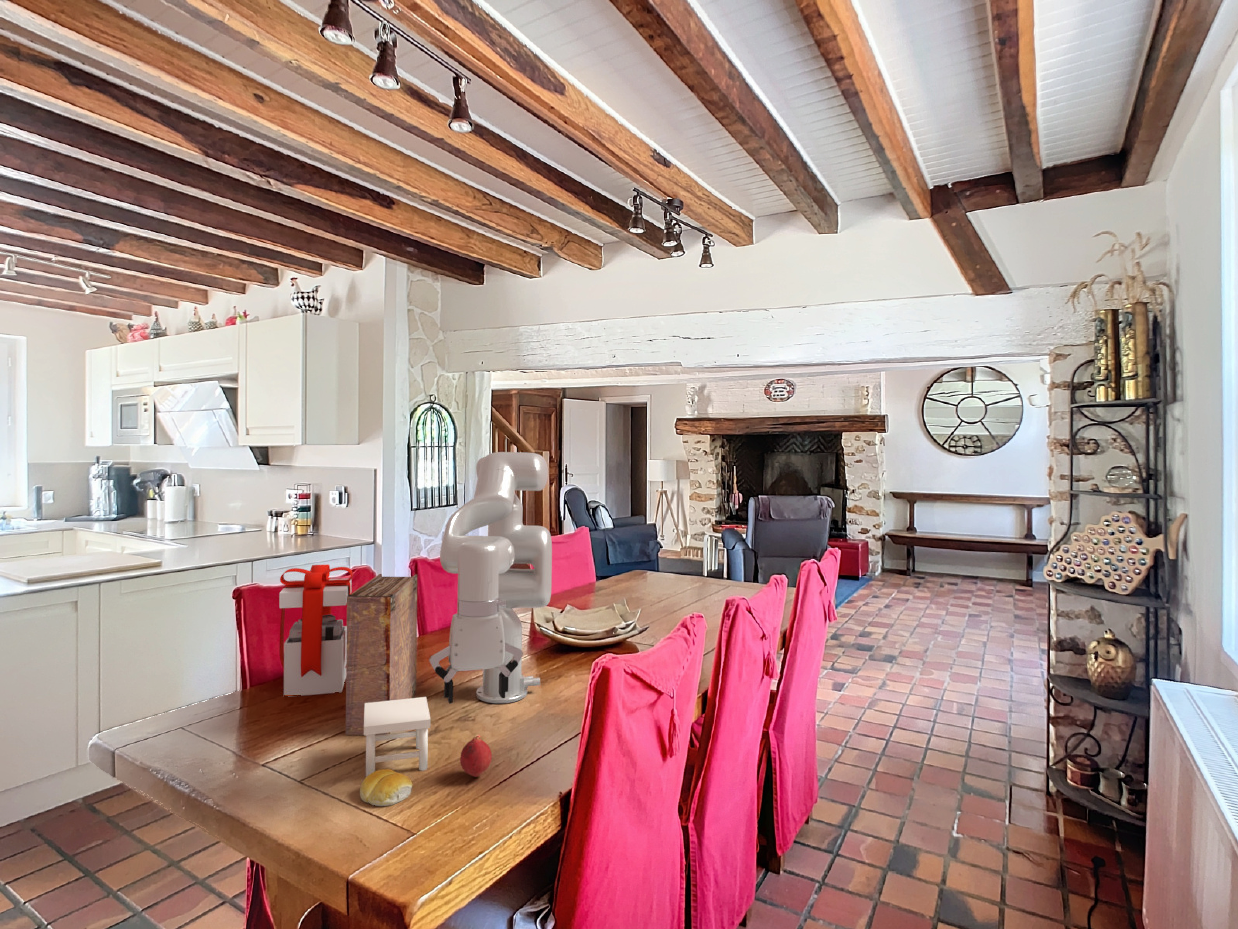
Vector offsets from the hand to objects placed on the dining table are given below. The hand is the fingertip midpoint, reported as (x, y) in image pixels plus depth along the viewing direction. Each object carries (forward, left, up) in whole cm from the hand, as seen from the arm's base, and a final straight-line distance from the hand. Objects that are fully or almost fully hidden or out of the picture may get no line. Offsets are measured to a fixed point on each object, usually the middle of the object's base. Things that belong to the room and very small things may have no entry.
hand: (476, 698), depth 128 cm
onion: (0, -1, -15) cm, 15 cm away
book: (+16, -38, -16) cm, 44 cm away
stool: (+14, -12, -15) cm, 24 cm away
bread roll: (+16, +1, -16) cm, 22 cm away
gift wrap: (+32, -61, -15) cm, 70 cm away
